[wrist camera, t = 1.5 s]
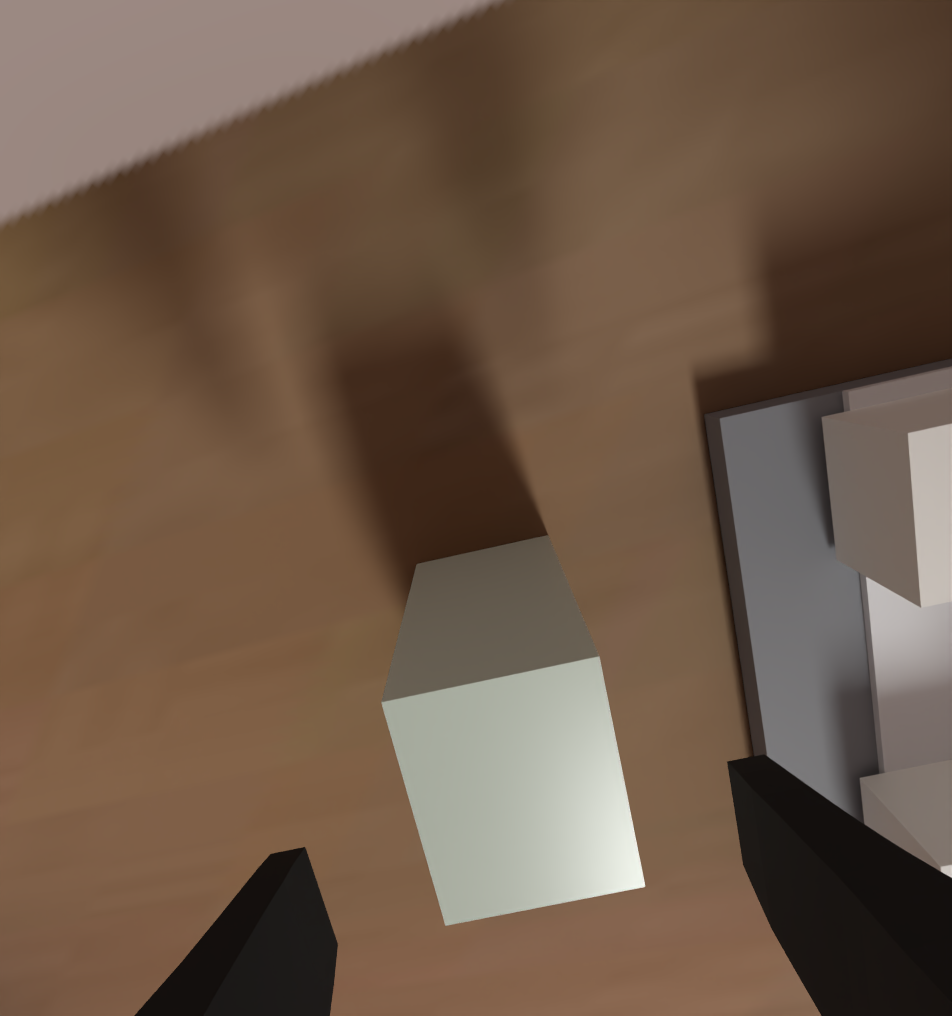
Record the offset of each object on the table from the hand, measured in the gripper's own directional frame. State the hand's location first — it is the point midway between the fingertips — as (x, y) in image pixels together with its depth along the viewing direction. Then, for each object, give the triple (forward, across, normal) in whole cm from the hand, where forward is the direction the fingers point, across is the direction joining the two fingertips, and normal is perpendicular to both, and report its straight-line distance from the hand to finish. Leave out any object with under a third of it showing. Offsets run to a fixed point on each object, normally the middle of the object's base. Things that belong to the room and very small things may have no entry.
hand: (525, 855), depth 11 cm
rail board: (+9, -12, +3) cm, 16 cm away
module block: (+10, 0, 0) cm, 10 cm away
